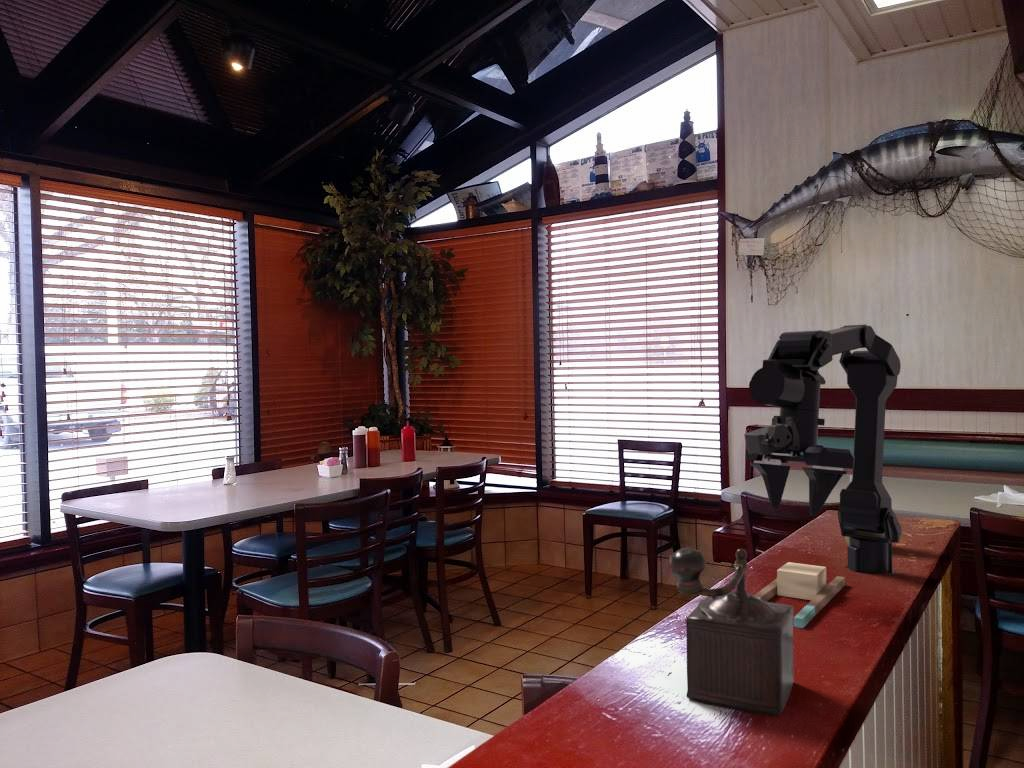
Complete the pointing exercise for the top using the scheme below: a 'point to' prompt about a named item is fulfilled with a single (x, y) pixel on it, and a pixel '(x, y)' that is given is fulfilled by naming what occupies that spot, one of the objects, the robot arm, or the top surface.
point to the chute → (813, 605)
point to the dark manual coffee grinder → (735, 641)
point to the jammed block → (800, 580)
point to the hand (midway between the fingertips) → (793, 511)
